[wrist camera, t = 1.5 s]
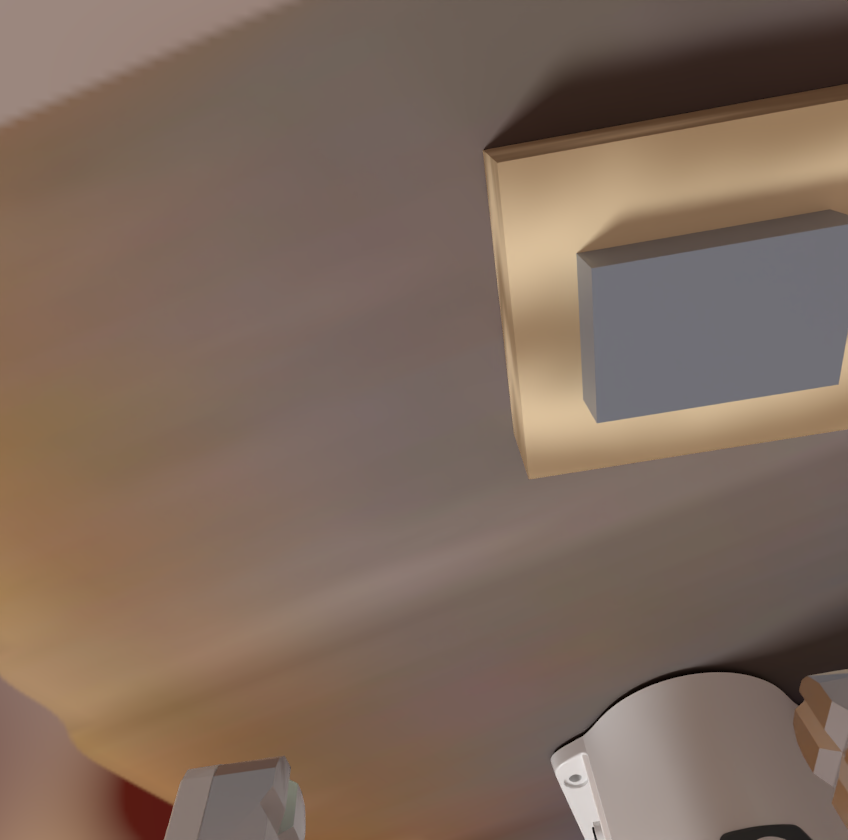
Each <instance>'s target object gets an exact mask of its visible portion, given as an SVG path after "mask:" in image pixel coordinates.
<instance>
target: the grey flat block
mask: <svg viewBox="0 0 848 840" xmlns="http://www.w3.org/2000/svg"><path fill="white" fill-rule="evenodd" d="M576 257H577V278H578V300H579V321H580V343H581V365H582V386H583V400H584V402H585V404H586V405H587V407H588V409H589V411H590V412H591V414H592V416H593V418H594V419H595V421H596V423H603V422H609V421H615V420H621V419H628V418H634V417H640V416H646V415H652V414H659V413H665V412H671V411H677V410H684V409H690V408H696V407H702V406H708V405H715V404H721V403H727V402H733V401H739V400H746V399H752V398H758V397H764V396H771V395H777V394H783V393H789V392H795V391H802V390H808V389H814V388H820V387H826V386H833V385H839V379H840V374H841V368H842V362H843V356H844V351H845V345H846V339H847V334H848V215H847V214H843V213H840V212H837V211H834V210H831V209H829V210H823V211H818V212H812V213H806V214H800V215H794V216H789V217H783V218H777V219H771V220H766V221H760V222H754V223H748V224H743V225H737V226H731V227H725V228H720V229H714V230H708V231H702V232H696V233H691V234H685V235H679V236H673V237H668V238H662V239H656V240H650V241H645V242H639V243H633V244H627V245H621V246H616V247H610V248H604V249H598V250H593V251H587V252H581V253H576Z"/></svg>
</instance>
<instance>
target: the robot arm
mask: <svg viewBox="0 0 848 840" xmlns="http://www.w3.org/2000/svg"><path fill="white" fill-rule="evenodd" d="M799 692H800V693H801V695H802V696H803V698H804V699H805V701H803V702H802V703H801V704H800V705H799V706H798V705H797V704H795V703H794V702H793V701H792V700H791V699H790V698H789V697H788V696H787V695H786V694H785V693H784V692H783V691H782V690H780V689H779V688H778V687H776V686H775V685H773V684H771V683H769V682H767V681H765V680H762V679H759V678H756V677H753V676H749V675H744V674H738V673H727V672H709V673H698V674H691V675H685V676H680V677H676V678H672V679H668V680H665V681H662V682H659V683H656V684H653V685H651V686H648V687H646V688H644V689H642V690H639V691H637V692H635V693H633V694H632V695H630V696H628V697H626V698H625V699H623V700H622V701H620V702H619V703H617V704H616V705H615V706H613V707H612V708H611V709H609V710H608V711H607V712H606V713H605V714H604V715H603V716H602V717H601V718H600V719H599V720H598V721H597V722H596V724H595V725H594V726H593V727H592V728H591V729H590V730H589V731H588V732H587V733H586V734H585V735H583V736H582V737H580V738H578V739H576V740H575V741H573V742H571V743H569V744H567V745H566V746H564V747H562V748H561V749H559V750H558V751H557V752H555V753H554V754H553V756H552V758H551V763H552V766H553V769H554V772H555V775H556V777H557V779H558V782H559V784H560V786H561V788H562V790H563V793H564V795H565V797H566V799H567V801H568V803H569V806H570V808H571V810H572V812H573V814H574V817H575V819H576V821H577V823H578V825H579V827H580V830H581V832H582V834H583V836H584V838H585V840H848V669H844V670H838V671H832V672H826V673H821V674H815V675H809V676H806V677H805V678H804V679H802V680H801V684H800V689H799ZM290 769H291V767H290V765H289V763H288V761H287V760H286V758H285V756H279V757H272V758H265V759H259V760H252V761H245V762H238V763H231V764H224V765H222V764H220V765H214V766H208V767H201V768H195V769H189V770H187V772H186V774H185V776H184V777H183V779H182V781H181V782H180V786H179V789H178V793H177V796H176V800H175V803H174V807H173V810H172V814H171V817H170V821H169V824H168V828H167V831H166V835H165V838H164V840H304V839H305V805H304V801H303V796H302V792H301V790H300V787H299V785H298V784H297V783H295V782H293V781H291V780H289V777H290Z"/></svg>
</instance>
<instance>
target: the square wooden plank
mask: <svg viewBox="0 0 848 840" xmlns="http://www.w3.org/2000/svg"><path fill="white" fill-rule="evenodd" d="M483 157H484V166H485V175H486V184H487V193H488V202H489V211H490V220H491V229H492V238H493V248H494V257H495V266H496V275H497V284H498V293H499V302H500V311H501V320H502V329H503V338H504V348H505V357H506V366H507V375H508V384H509V393H510V402H511V411H512V420H513V429H514V435H515V438H516V441H517V444H518V447H519V450H520V453H521V456H522V459H523V463H524V466H525V469H526V472H527V475H528V478H529V479H535V478H541V477H547V476H554V475H560V474H566V473H573V472H579V471H585V470H592V469H598V468H604V467H611V466H617V465H623V464H630V463H636V462H642V461H649V460H655V459H661V458H668V457H674V456H680V455H687V454H693V453H700V452H706V451H712V450H719V449H725V448H731V447H738V446H744V445H750V444H757V443H763V442H769V441H776V440H782V439H788V438H795V437H801V436H807V435H814V434H820V433H826V432H833V431H839V430H845V429H848V334H847V339H846V345H845V351H844V356H843V362H842V368H841V374H840V379H839V385H833V386H826V387H820V388H814V389H808V390H802V391H795V392H789V393H783V394H777V395H771V396H764V397H758V398H752V399H746V400H739V401H733V402H727V403H721V404H715V405H708V406H702V407H696V408H690V409H684V410H677V411H671V412H665V413H659V414H652V415H646V416H640V417H634V418H628V419H621V420H615V421H609V422H603V423H596V421H595V419H594V418H593V416H592V414H591V412H590V411H589V409H588V407H587V405H586V404H585V402H584V400H583V386H582V365H581V343H580V321H579V300H578V278H577V257H576V253H581V252H587V251H593V250H598V249H604V248H610V247H616V246H621V245H627V244H633V243H639V242H645V241H650V240H656V239H662V238H668V237H673V236H679V235H685V234H691V233H696V232H702V231H708V230H714V229H720V228H725V227H731V226H737V225H743V224H748V223H754V222H760V221H766V220H771V219H777V218H783V217H789V216H794V215H800V214H806V213H812V212H818V211H823V210H829V209H831V210H834V211H837V212H840V213H843V214H847V215H848V84H843V85H838V86H832V87H827V88H821V89H816V90H810V91H805V92H799V93H794V94H788V95H783V96H777V97H772V98H766V99H761V100H755V101H750V102H745V103H739V104H734V105H728V106H723V107H717V108H712V109H706V110H701V111H695V112H690V113H684V114H679V115H673V116H668V117H662V118H657V119H651V120H646V121H640V122H635V123H629V124H624V125H618V126H613V127H607V128H602V129H596V130H591V131H585V132H580V133H574V134H569V135H563V136H558V137H552V138H547V139H541V140H536V141H530V142H525V143H519V144H514V145H508V146H503V147H497V148H492V149H486V150H483Z"/></svg>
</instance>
